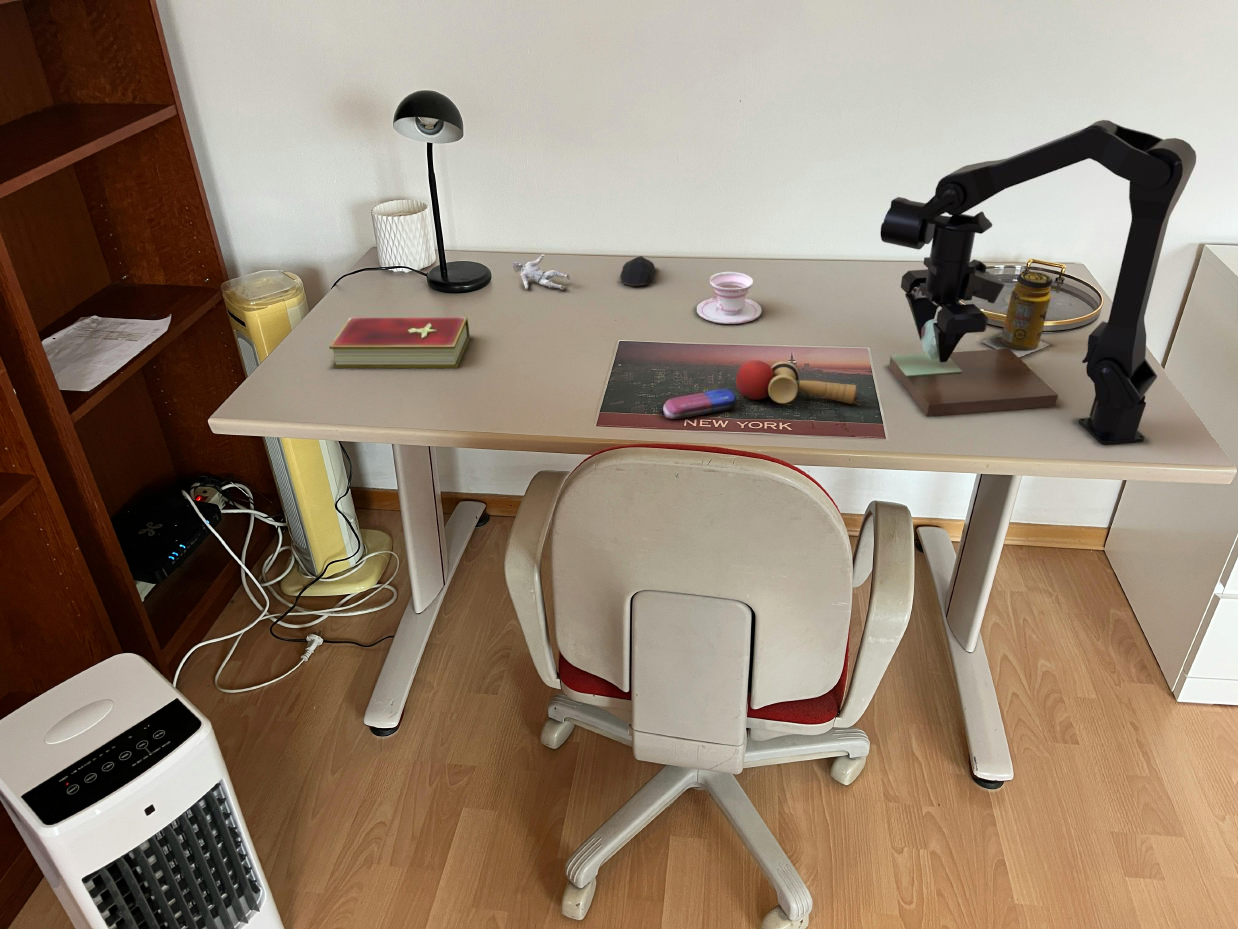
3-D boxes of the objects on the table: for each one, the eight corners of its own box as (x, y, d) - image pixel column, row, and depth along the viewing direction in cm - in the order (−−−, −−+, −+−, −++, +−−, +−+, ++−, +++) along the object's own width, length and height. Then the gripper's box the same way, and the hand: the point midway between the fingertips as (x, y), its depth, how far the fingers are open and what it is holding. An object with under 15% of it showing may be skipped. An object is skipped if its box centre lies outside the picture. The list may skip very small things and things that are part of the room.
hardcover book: (353, 337, 163) (349, 315, 161) (469, 336, 162) (467, 315, 160) (333, 367, 153) (328, 345, 151) (457, 367, 152) (454, 344, 150)
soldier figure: (554, 301, 177) (501, 275, 179) (558, 308, 182) (506, 283, 184) (572, 266, 178) (519, 241, 180) (576, 275, 183) (524, 250, 184)
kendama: (847, 395, 144) (735, 375, 145) (858, 364, 139) (742, 343, 140) (848, 427, 138) (730, 406, 139) (859, 396, 134) (738, 374, 135)
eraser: (668, 422, 136) (668, 412, 135) (660, 409, 139) (659, 398, 138) (739, 409, 138) (739, 398, 137) (729, 396, 141) (729, 386, 140)
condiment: (1049, 345, 154) (1067, 278, 148) (1017, 358, 150) (1034, 290, 144) (1012, 330, 159) (1028, 265, 153) (981, 343, 155) (995, 276, 149)
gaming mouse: (660, 262, 191) (660, 243, 188) (649, 289, 179) (649, 270, 176) (630, 260, 192) (630, 242, 190) (617, 287, 180) (617, 268, 177)
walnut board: (1055, 406, 137) (1058, 393, 136) (926, 416, 135) (929, 403, 134) (1006, 359, 150) (1009, 347, 149) (888, 367, 149) (890, 355, 147)
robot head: (946, 371, 141) (954, 331, 137) (919, 370, 141) (926, 330, 138) (941, 349, 147) (948, 310, 144) (914, 348, 148) (921, 309, 144)
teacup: (773, 318, 166) (776, 286, 162) (714, 329, 162) (715, 297, 159) (742, 294, 175) (744, 264, 172) (685, 305, 172) (686, 274, 168)
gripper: (1033, 275, 127) (1010, 374, 136) (975, 231, 143) (957, 323, 152) (956, 280, 127) (938, 379, 135) (906, 235, 142) (893, 327, 151)
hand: (933, 351), depth 143 cm, fingers closed on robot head, 7 cm apart
